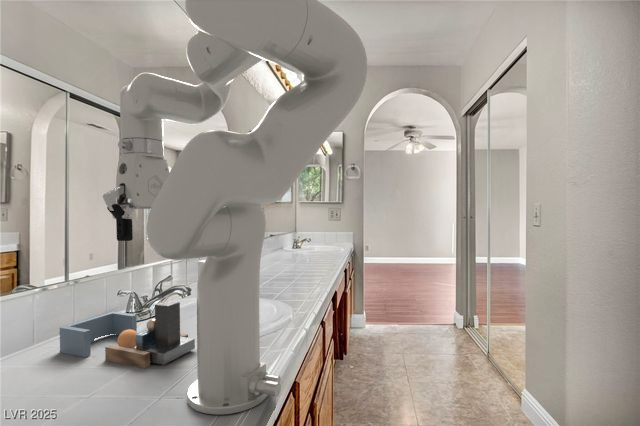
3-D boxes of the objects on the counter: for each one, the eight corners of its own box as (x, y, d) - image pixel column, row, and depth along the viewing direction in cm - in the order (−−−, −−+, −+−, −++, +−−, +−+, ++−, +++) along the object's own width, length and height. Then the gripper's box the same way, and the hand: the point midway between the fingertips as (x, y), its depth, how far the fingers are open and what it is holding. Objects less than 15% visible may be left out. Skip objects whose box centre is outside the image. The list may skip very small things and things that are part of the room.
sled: (194, 348, 77) (194, 299, 76) (163, 364, 69) (163, 310, 69) (164, 343, 79) (164, 296, 79) (131, 358, 72) (131, 306, 71)
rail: (188, 346, 79) (188, 334, 79) (144, 368, 68) (144, 354, 68) (151, 340, 83) (151, 328, 83) (105, 360, 72) (105, 347, 72)
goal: (136, 336, 85) (136, 314, 85) (84, 357, 74) (84, 331, 73) (113, 332, 88) (113, 311, 88) (60, 352, 76) (59, 327, 76)
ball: (143, 347, 79) (143, 328, 79) (127, 354, 75) (127, 334, 75) (129, 344, 80) (129, 325, 80) (112, 351, 77) (112, 331, 76)
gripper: (120, 142, 64) (122, 242, 64) (188, 155, 80) (190, 235, 80) (88, 146, 67) (90, 242, 67) (160, 158, 83) (162, 235, 83)
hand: (145, 238), depth 73 cm, fingers open, 9 cm apart
